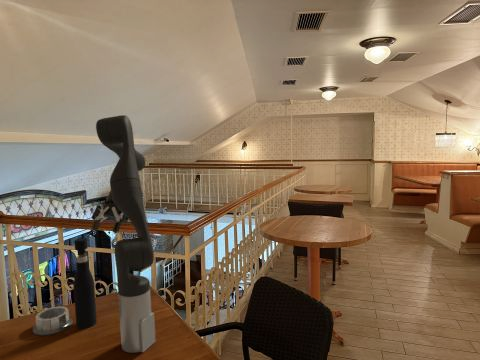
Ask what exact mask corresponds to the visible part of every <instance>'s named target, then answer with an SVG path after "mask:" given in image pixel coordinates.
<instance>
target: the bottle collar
mask: <svg viewBox="0 0 480 360" xmlns="http://www.w3.org/2000/svg"><path fill="white" fill-rule="evenodd" d="M73 322H74V320H73V318H72V316H70V312H69V309H68V306H67V307H66V306H61V305H60V306H53V307H49V308H46V309H44V310H41V311H40V312H39V311H38V313H37V314H36V315H35V325H34V326H33V327H32V333H33V334H34V335H35V336H40V337H43V336H45V337H46V336H51V335H54V334H55V335H56V334H58V333H61V332H63V331H65V330H67V329H68V328H70V327H71V326H72V324H73Z"/></svg>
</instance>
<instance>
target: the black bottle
mask: <svg viewBox="0 0 480 360" xmlns="http://www.w3.org/2000/svg"><path fill="white" fill-rule="evenodd" d="M87 249H88V238H86V237H81V238H75V239H74V250H75V251H77V252H76V253H77V256H76V262H75V264H76V266H75V267H76V271H75V275H74V278H73V279H74V280H73V296H74V297H73V298H74V308H75V309H74V310H75V313H74V314H75V322H76V323H75V325H76V328H78V329H81V330H83V329H87V328H88V329H89V328H91V327H93V326H95V325H96V324H97V320H98V319H97V306H96V304H97V303H96V293H95V292H96V291H95V290H96V289H95V281H94V276H93V274H92V272H91V269H90V266H89V260H88V255H87V253H86V252H87V251H86V250H87Z"/></svg>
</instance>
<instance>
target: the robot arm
mask: <svg viewBox="0 0 480 360" xmlns="http://www.w3.org/2000/svg"><path fill="white" fill-rule="evenodd" d="M95 130H96V134H97V138H98V140H99V141H100V143H101V144H102V145H103V146H105V148H107V149H109V150H111V152H113V153H114V154H116V156H118V161H117V162H116V165H115V167H114V169H113V170H112V172H111V174H110V179H109V187H110V190H109V192H108V195H107V197H106V200H105V205H104V206H101V205H99V204H97V205H96V207H95V209H94V211H93V214H92V215H91V219H92V220H93V221H94V222H93V225H92V228H91V229H92V231H93V232H98V231H99V227H100V226H101V222H104V220H107V219H115V220H116V221H115V223H114V226H113V228H112V232H113V233H114V234H117V233H119V231H120V229H121V226H122V224H128V221H129V222H130V223H131V224H132V226H133V228H134V230H135V232H136V235H137V237H133V238H132V237H131V238H126V239H119V240H118V241H116V243H115V245H114V259H115V268H116V278H117V293H118V310H119V311H118V312H119V328H120V329H119V330H120V338H121V339H120V340H121V341H120V342H121V350H122V351H124V352H126V353H130V354H134V353H135V354H136V353H145V352H146V351H147V350H148V349H149V348H150V347H151V346H152V345H154V344H155V343H156V326H155V325H156V323H155V313H154V312H153V311H152V301H151V283H150V280H149V278H148V277H146V276H142V275H138V274H136V275H135V274H132V273H130V271H132V270H138V269H142V268H147V267H151V266H152V265H153V264H154V260H155V253H154V247H153V243H152V242H153V241H152V239H151V235H150V233H151V232H150V230H149V225H148V221H147V217H146V212H145V206H144V198H143V197H144V196H143V191H142V184H141V183H142V182H141V179H140V175H139V172H140V171H142V170H143V169H144V168H145V166H146V159H145V156H144V155H143V154H142V153H140V152H139V151H138V150H136V148H135V141H134V140H135V139H134V132H133V125H132V122H131V119H130V118H129V117H128V116H127V115H126V114H125V115H124V114H123V115H115V116H109V117H103V118H101V119H98V120H97V121H96V122H95ZM121 215H122V216H121Z"/></svg>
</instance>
